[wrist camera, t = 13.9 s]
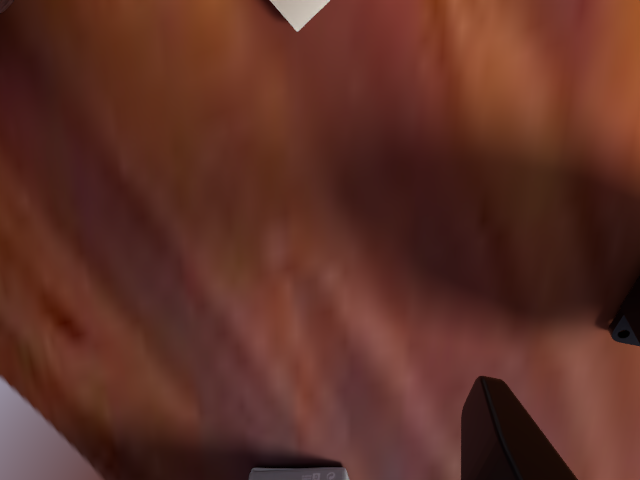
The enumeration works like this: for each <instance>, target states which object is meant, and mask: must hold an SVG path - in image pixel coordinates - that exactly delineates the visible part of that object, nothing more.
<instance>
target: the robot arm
mask: <svg viewBox="0 0 640 480" xmlns="http://www.w3.org/2000/svg"><path fill="white" fill-rule="evenodd" d="M622 330H625V331H623V332H620V331H622ZM609 333H610V335H611V337H612V339H614V340H615V341H617V342H621V343H626V344H631V345H636V346H640V276H639V278H638V279H637V281H636V283H635V284H634V286H633V287H632V289H631V290H630V292H629V294H628V295H627V297H626V298H625V300H624V302H623V303H622V305H621V309H620V310H619V312H618V314H617V315H616V317H615V318H614V320H613V322H612V323H611V325H610V327H609ZM461 480H578V479H577V478H576V477H575V475H574V474H573V473H572V471H571V470H570V469H569V467H568V466H567V465H566V463H565V462H564V461H563V459H562V458H561V457H560V455H559V454H558V453H557V451H556V450H555V448H554V447H553V446H552V444H551V443H550V442H549V440H548V439H547V438H546V436H545V435H544V434H543V432H542V431H541V430H540V428H539V427H538V426H537V424H536V423H535V422H534V420H533V419H532V418H531V416H530V415H529V414H528V412H527V411H526V410H525V408H524V407H523V406H522V404H521V403H520V402H519V400H518V399H517V398H516V396H515V395H514V394H513V392H512V391H511V390H510V388H509V387H508V386H507V384H506V383H505V382H504V381H503V380H501V379H496V378H491V377H486V376H479V377H478V378H477V379H476V380H475V382H474V384H473V387H472V389H471V391H470V393H469V395H468V397H467V399H466V402H465V404H464V406H463V410H462V417H461Z"/></svg>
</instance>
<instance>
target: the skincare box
mask: <svg viewBox="0 0 640 480" xmlns="http://www.w3.org/2000/svg"><path fill="white" fill-rule="evenodd" d="M248 480H349V477H348V474H347V471H346V469H345V468H344V467H321V468H300V469H291V468H253V469H252V470H251V472H250V474H249V479H248Z"/></svg>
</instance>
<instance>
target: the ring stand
mask: <svg viewBox="0 0 640 480" xmlns="http://www.w3.org/2000/svg"><path fill="white" fill-rule="evenodd" d="M270 1H271V2H272V3H273V5H274V6H275V7H276V8H277V9H278V10H279V11H280V13H281V14H282V15H283V16H284V17H285V18H286V20H287V21H288V22H289V23H290V24H291V25H292V27H293V28H294V29H295V30H296V31H297V32H298V31H299V30H300V29H301V28H302V27H303V26H304V25H305V24H306V23H307V22H308V21H309V20H310V19H311V18H312V17H314V16H315V15H316V14H317V13H318V12H319V11H320V10H321V9H322V8H323V7H324V6H325V5H326V4H327V3H328V2H329V1H330V0H270Z"/></svg>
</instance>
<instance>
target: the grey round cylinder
mask: <svg viewBox="0 0 640 480" xmlns="http://www.w3.org/2000/svg"><path fill="white" fill-rule="evenodd" d="M13 2H14V0H0V14H1V13H2V12H4V11H5V10H6V9H7V8H8V7H9V6H10V5H11V4H12V3H13Z"/></svg>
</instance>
